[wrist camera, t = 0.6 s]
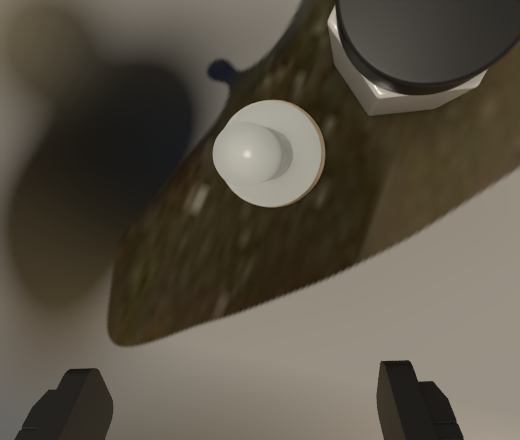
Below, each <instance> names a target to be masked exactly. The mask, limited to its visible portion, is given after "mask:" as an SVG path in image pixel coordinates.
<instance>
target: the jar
mask: <svg viewBox="0 0 520 440" xmlns="http://www.w3.org/2000/svg"><path fill="white" fill-rule="evenodd" d="M328 29H329V35H330V42H331V48H332V54H333V61H334V65H335V67H336V68H337V70H338V71H339V73H340V74H341V75H342V77H343V78H344V80H345V81H346V83H347V84H348V86H349V87H350V89H351V90H352V92H353V93H354V95H355V96H356V98H357V99H358V101H359V102H360V104H361V105H362V107H363V108H364V110H365V111H366V113H367V114H368V115H369V116H374V115H384V114H393V113H402V112H412V111H421V110H431V109H436V108H438V107H440V106H442V105H444V104H446V103H447V102H449V101H451V100H453V99H455V98H457V97H459V96H461V95H462V94H464V93H466V92H468V91H470V90H472V89H474V88H476V87H477V86H478V85H479V84H480V82H481V80H482V79H483V77H484V75H485V73H486V71H487V70H488V69H489V68H490V67H492V66H493V65H495V64H496V63H497V62H498V61H500V60H501V59H502V58H503V57H504V56H506V55H507V54H508V53H509V52H510V51H511V50H512V49H513V48H514V47H515V45H516V44H517V43H518V42H519V41H520V0H335V6H334V8H333V10H332V12H331V15H330V17H329V19H328Z"/></svg>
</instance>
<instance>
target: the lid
mask: <svg viewBox="0 0 520 440" xmlns="http://www.w3.org/2000/svg"><path fill="white" fill-rule="evenodd" d="M213 161H214V165H215V167H216V169H217V171H218V173H219V174H220V176H221V177H222V178H223V179H224V180H225V181H226V183H227V184H228V186H229V187H230V188H231V189H232V190H233V192H234V193H235V194H237V195H238V196H239V197H240V198H242V199H244V200H245V201H247V202H249V203H252V204H255V205H258V206H264V207H274V206H280V205H284V204H287V203H290V202H292V201H293V200H295V199H297V198H298V197H300V196H301V195H302V194H304V193H305V192H306V191H307V190H308V189H309V188H310V186H311V185H312V184H313V182H314V181H315V179H316V177H317V175H318V173H319V170H320V166H321V161H322V145H321V141H320V137H319V134H318V132H317V130H316V128H315V126H314V125H313V123H312V122H311V121H310V119H309V118H308V117H307V116H306V115H305V114H304V113H302V112H301V111H300V110H298V109H297V108H295V107H293V106H292V105H289V104H287V103H284V102H280V101H260V102H256V103H253V104H250V105H248V106H246V107H244V108H243V109H241V110H240V111H238V112H237V113H236V114H235V115H234V116H233V117H232V118H231V119H230V121H229V122H228V123H227V125H226V127H225V128H224V129H223V130H222V131H221V133H220V134H219V135H218V137H217V139H216V141H215V144H214V147H213Z"/></svg>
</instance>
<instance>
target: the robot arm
mask: <svg viewBox="0 0 520 440" xmlns="http://www.w3.org/2000/svg"><path fill="white" fill-rule="evenodd" d="M377 409H378V415H379V420H380V424H381V428H382V433H383V437H384V440H464V439H463V435H462V433H461V430H460V428H459V425H458V424H457V422H456V418H455V415H454V413H453V411H452V408H451V405H450V403H449V400H448V398H447V397H446V396H445V395H444V394H443V393H442V392H441V390H440V389H439V388H438V387H437V386H436V385H435V383H434V382H433V381H425V382H418V380H417V377H416V374H415V371H414V369H413V366H412V364H411V362H410V361H408V360H406V361H381V363H380V370H379V378H378V388H377ZM112 415H113V400H112V397H111V395H110V393H109V391H108V389H107V387H106V385H105V382H104V380H103V378H102V376H101V374H100V372H99V370H98V369H96V368H91V369H89V368H88V369H70V370H68V371H67V372H66V373H65V375H64V376H63V378H62V380H61V382H60V384H59V386H58V388H57V390H48V391H47V392H46V393H45V394H44V395H43V396H42V397H41V399H40V400H39V401H38V402H37V403H36V404H35V405H34V406H33V407H32V409H31V411H30V412H29V414H28V416H27V418H26V420H25V422H24V423H23V425H22V430H21V431H19V433H18V434H17V436H16V438H15V440H105V437H106V434H107V431H108V429H109V426H110V423H111V420H112Z"/></svg>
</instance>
